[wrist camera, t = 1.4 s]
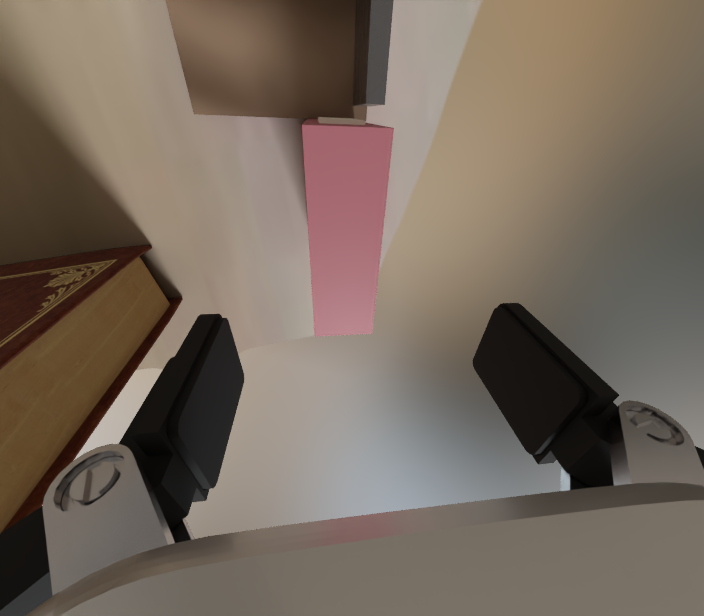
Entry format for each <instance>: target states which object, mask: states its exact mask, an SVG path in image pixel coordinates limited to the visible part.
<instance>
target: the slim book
mask: <svg viewBox="0 0 704 616" xmlns="http://www.w3.org/2000/svg"><path fill="white" fill-rule="evenodd" d="M393 130H394V128H390V127H385V126H380V125H375V124H369V123H365V120H360V119H353V118H330V117H318V119H307V120H306V121H305V122H304V123H303V124H302V135H303V152H304V168H305V184H306V200H307V217H308V233H309V249H310V266H311V282H312V298H313V314H314V331H315V336H332V335H351V334H370V333H372V331H373V321H374V311H375V302H376V293H377V283H378V274H379V264H380V255H381V245H382V235H383V226H384V216H385V207H386V197H387V188H388V178H389V168H390V159H391V149H392V140H393Z"/></svg>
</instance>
